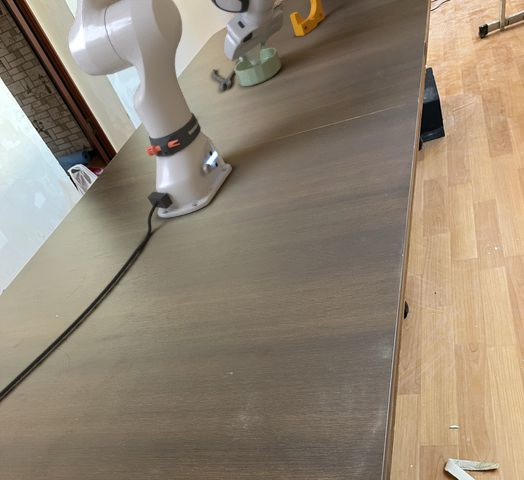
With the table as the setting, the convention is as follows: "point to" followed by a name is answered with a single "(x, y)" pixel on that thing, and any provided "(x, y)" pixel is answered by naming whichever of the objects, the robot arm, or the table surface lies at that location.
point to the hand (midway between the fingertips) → (251, 52)
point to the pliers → (227, 80)
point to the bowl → (258, 68)
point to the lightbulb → (254, 55)
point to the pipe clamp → (311, 22)
